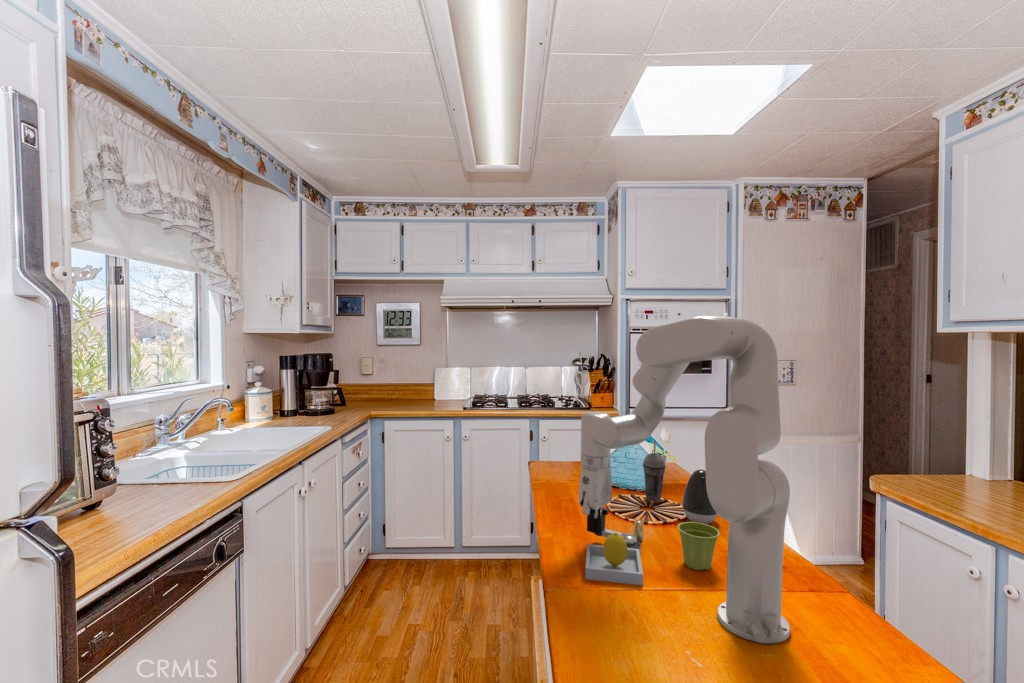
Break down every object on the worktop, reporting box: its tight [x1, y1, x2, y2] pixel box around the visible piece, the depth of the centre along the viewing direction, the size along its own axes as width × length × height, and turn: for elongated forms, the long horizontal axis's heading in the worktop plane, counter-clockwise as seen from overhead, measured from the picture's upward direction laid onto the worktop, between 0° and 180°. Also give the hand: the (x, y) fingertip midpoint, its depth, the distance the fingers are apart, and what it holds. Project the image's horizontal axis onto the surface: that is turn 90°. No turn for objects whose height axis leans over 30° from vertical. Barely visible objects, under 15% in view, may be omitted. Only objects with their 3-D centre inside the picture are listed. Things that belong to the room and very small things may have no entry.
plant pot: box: [677, 521, 720, 571], centre depth 119 cm, size 9×9×9 cm
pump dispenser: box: [682, 469, 718, 525], centre depth 146 cm, size 10×10×15 cm
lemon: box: [602, 533, 627, 567], centre depth 116 cm, size 6×6×8 cm
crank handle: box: [593, 507, 637, 545], centre depth 128 cm, size 12×4×7 cm, turn 55°
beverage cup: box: [642, 439, 666, 503], centre depth 163 cm, size 7×7×20 cm
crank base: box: [627, 518, 644, 554], centre depth 128 cm, size 12×7×5 cm, turn 170°
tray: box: [584, 543, 644, 586], centre depth 116 cm, size 13×13×2 cm
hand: (593, 531), depth 127 cm, fingers closed
